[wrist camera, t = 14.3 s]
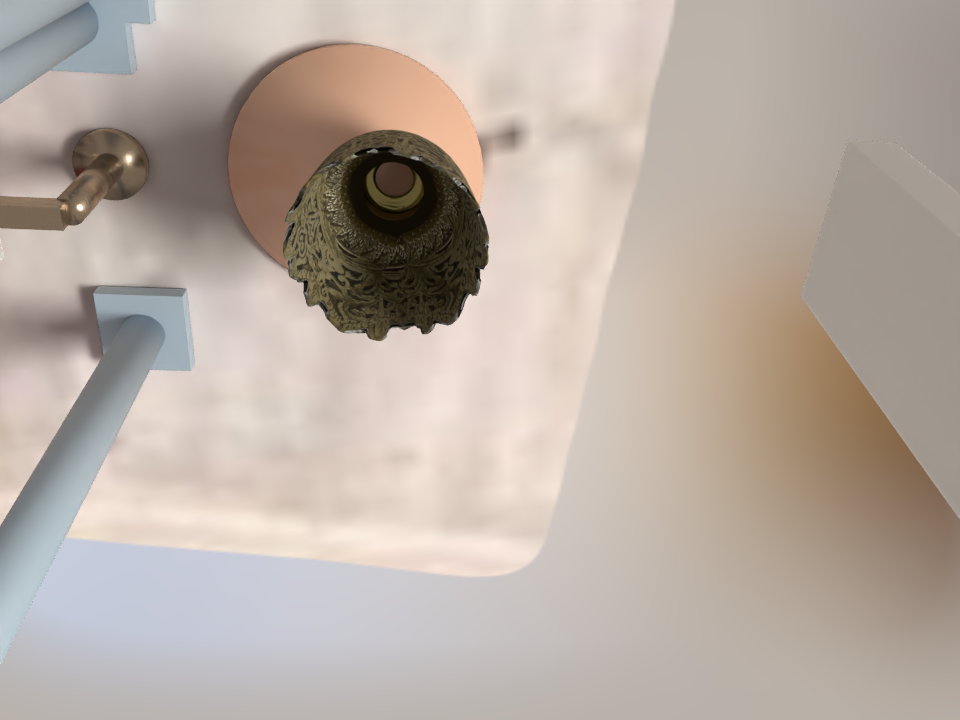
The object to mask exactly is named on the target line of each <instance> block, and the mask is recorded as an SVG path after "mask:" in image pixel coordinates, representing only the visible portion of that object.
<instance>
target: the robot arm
mask: <svg viewBox="0 0 960 720" xmlns="http://www.w3.org/2000/svg"><path fill="white" fill-rule="evenodd" d="M3 257H4V253H3V249H2V244H1V239H0V260H1V259H2V258H3ZM801 297H802V299H803V300H804V301H805V303H806V304H807V306H808V307H809V309H810V310H811V311H812V313H813V314H814V316H815V317H816V318H817V320H818V321H819V323H820V324H821V325H822V327H823V328H824V329H825V331H826V332H827V334H828V335H829V337H830V338H831V339H832V341H833V342H834V344H835V345H836V346H837V348H838V349H839V351H840V352H841V353H842V355H843V356H844V358H845V359H846V361H848V363H849V365H850V366H851V368H852V369H853V370H854V372H855V373H856V375H857V376H858V377H859V379H860V380H861V381H862V383H863V384H864V386H865V387H866V389H867V390H868V391H869V393H870V394H871V396H872V397H873V398H874V400H875V401H876V403H877V404H878V405H879V407H880V408H881V410H882V411H883V412H884V414H885V415H886V417H887V418H888V419H889V421H890V422H891V424H892V425H893V426H894V428H895V429H896V431H897V432H898V434H899V435H900V436H901V438H902V439H903V441H904V442H905V443H906V445H907V446H908V448H909V449H910V450H911V452H912V453H913V455H914V456H915V457H916V459H917V460H918V462H919V463H920V464H921V466H922V467H923V469H924V470H925V471H926V473H927V474H928V476H929V477H930V478H931V480H932V481H933V483H934V484H935V485H936V487H937V488H938V489H939V491H940V492H941V494H942V495H943V497H944V498H945V499H946V501H947V502H948V504H949V505H950V507H951V508H952V509H953V511H954V512H955V514H956V515H957V516H958V518H959V519H960V194H959V193H958V192H957V191H955V190H954V189H953V188H952V187H950V186H949V185H948V184H947V183H945V182H944V181H943V180H942V179H940V178H939V177H938V176H937V175H935V174H934V173H933V172H931V171H930V170H929V169H928V168H926V167H925V166H924V165H922V164H921V163H920V162H919V161H918V160H916V159H915V158H914V157H912V156H911V155H910V154H909V153H907V152H906V151H905V150H904V149H902V148H901V147H900V146H899V145H897V144H896V143H888V142H873V141H857V140H848V141H847V145H846V148H845V152H844V155H843V158H842V161H841V165H840V168H839V171H838V175H837V178H836V181H835V185H834V188H833V191H832V194H831V198H830V202H829V204H828V208H827V211H826V214H825V218H824V221H823V224H822V228H821V231H820V234H819V237H818V241H817V244H816V247H815V251H814V254H813V257H812V261H811V264H810V267H809V271H808V274H807V277H806V281H805V284H804V287H803V291H802V294H801Z"/></svg>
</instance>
